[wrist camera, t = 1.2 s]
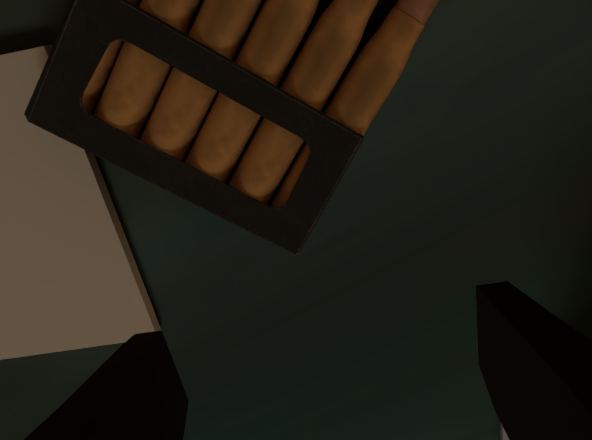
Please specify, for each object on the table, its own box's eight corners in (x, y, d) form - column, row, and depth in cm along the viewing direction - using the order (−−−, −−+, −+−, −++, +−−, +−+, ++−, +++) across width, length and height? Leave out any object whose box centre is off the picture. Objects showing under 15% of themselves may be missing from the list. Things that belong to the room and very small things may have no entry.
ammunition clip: (21, 118, 17) (168, -291, 13) (45, 108, 18) (182, -255, 14) (298, 255, 19) (495, -55, 15) (296, 235, 21) (473, -48, 17)
